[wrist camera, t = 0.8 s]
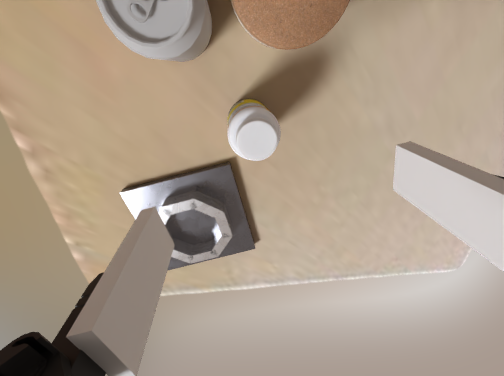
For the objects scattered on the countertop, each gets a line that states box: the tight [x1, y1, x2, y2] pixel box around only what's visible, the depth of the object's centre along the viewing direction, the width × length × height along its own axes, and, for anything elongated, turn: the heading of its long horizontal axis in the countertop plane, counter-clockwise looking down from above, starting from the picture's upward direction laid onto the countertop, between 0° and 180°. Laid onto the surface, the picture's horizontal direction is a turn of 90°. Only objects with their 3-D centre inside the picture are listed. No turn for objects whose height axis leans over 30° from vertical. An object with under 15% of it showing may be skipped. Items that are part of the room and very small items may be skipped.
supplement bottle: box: [227, 99, 281, 161], centre depth 27 cm, size 6×6×10 cm
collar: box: [120, 162, 255, 270], centre depth 36 cm, size 16×16×4 cm
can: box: [96, 0, 212, 62], centre depth 20 cm, size 8×8×12 cm
